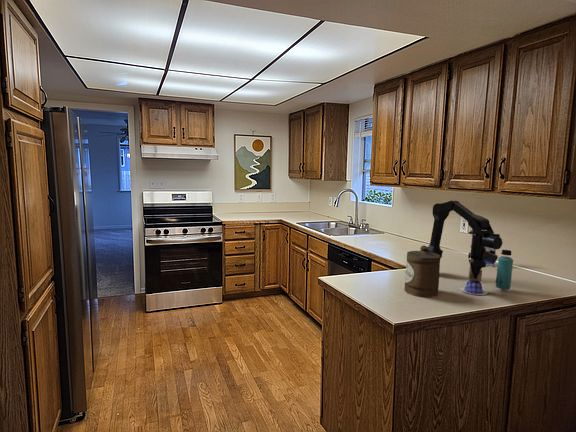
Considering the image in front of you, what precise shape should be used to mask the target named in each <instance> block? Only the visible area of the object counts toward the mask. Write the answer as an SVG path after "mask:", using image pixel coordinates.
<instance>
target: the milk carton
mask: <svg viewBox="0 0 576 432" xmlns="http://www.w3.org/2000/svg"><path fill="white" fill-rule="evenodd" d="M485 249H486V251H490V250H493V251H494V254H496V251H497V249H493V248H489V247H485ZM484 261H485V262H486V267H488V266H492V267H491V268H495V263H493V262H492V261H490V260H488V259H486V258H485V260H484Z"/></svg>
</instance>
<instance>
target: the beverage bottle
mask: <svg viewBox="0 0 576 432" xmlns="http://www.w3.org/2000/svg"><path fill="white" fill-rule="evenodd" d="M501 255H502V256H500V257H499V256H498V258H497V261H498V262H497V265H496V266H497V269H496V276H495V284H494V285H495V288H497V289H501V290H505V291H507V290H508V291H509V290H510V289H511V287H512V276H513V275H512V273H513V266H514V265H513V264H514V259H513V258H512V257H510V256H512V251H511V250H510V249H502V250H501Z"/></svg>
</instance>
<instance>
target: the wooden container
mask: <svg viewBox="0 0 576 432" xmlns="http://www.w3.org/2000/svg"><path fill="white" fill-rule="evenodd" d="M427 250H428V246H426V245H421V246H420V250H410V251H407V252H406V263H405V275H404V276H405V277H404V278H405V279H404V291H405V293H407V294H409V295H411V296H415V297H420V298H434V297H437V296H438V295H439V284H440V272H441V271H440V268H441V267H440V266H441V264H440V263H441V259H440V255H439V254H436V253H432V252H428V251H427Z"/></svg>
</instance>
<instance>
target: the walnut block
mask: <svg viewBox="0 0 576 432" xmlns="http://www.w3.org/2000/svg"><path fill="white" fill-rule="evenodd" d="M482 275H483V268H481V269H480V271H479V274H478V276H477V279H474V277H473V273H472V270H471V267H470V266H469V269H468V280H474V281H480V282H482Z"/></svg>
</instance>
